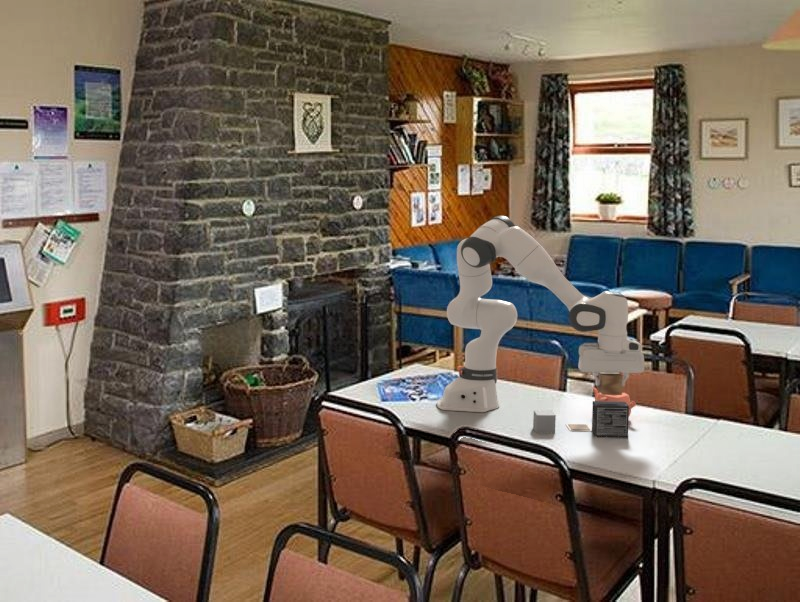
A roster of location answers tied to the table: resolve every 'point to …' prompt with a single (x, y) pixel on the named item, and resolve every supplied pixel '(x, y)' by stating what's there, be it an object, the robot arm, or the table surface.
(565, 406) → the table surface
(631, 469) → the table surface
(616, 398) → the teapot
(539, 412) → the slate cube
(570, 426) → the swatch
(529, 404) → the table surface
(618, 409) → the small box
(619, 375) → the walnut cube
